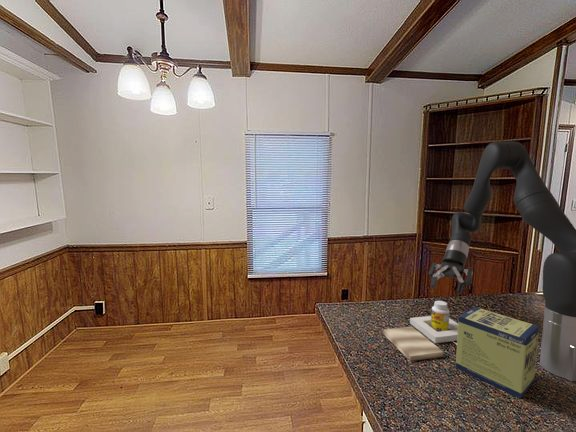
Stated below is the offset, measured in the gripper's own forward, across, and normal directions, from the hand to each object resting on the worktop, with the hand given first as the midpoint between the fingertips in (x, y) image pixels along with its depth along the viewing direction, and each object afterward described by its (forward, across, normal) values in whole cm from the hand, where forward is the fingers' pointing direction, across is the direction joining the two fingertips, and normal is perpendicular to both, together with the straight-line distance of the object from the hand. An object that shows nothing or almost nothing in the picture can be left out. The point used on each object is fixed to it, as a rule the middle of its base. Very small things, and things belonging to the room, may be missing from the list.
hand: (445, 290), depth 108 cm
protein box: (+25, +20, -7) cm, 33 cm away
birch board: (+25, -3, -8) cm, 27 cm away
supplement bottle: (+14, +1, +3) cm, 15 cm away
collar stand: (+14, +1, +3) cm, 14 cm away
